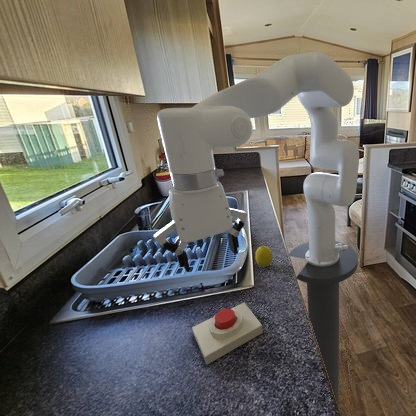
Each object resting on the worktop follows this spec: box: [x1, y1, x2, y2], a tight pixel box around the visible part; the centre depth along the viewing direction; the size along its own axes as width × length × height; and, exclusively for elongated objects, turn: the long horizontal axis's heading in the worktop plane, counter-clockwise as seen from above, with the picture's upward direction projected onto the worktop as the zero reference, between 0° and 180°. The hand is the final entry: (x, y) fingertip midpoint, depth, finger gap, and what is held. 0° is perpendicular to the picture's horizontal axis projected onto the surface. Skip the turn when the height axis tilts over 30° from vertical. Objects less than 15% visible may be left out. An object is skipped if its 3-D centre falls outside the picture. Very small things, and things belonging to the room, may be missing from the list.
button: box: [214, 308, 236, 330], centre depth 60 cm, size 4×4×2 cm
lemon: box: [254, 245, 274, 268], centre depth 86 cm, size 6×6×8 cm
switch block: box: [191, 302, 264, 365], centre depth 61 cm, size 13×10×4 cm
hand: (211, 259), depth 54 cm, fingers open, 9 cm apart
